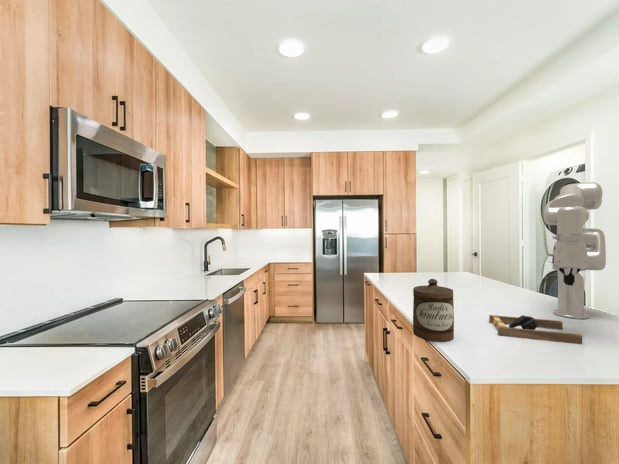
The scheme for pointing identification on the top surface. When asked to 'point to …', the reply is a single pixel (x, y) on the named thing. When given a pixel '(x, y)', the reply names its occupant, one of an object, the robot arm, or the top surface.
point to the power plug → (524, 323)
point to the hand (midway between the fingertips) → (568, 284)
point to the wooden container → (433, 312)
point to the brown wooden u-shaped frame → (534, 334)
